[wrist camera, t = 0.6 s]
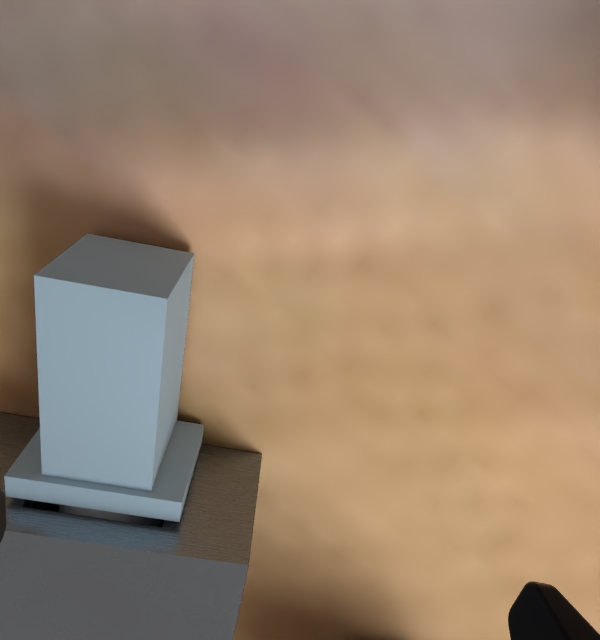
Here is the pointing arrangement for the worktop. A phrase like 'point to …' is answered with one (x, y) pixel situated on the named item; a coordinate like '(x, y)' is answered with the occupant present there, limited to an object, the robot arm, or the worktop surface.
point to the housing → (128, 558)
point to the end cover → (111, 384)
